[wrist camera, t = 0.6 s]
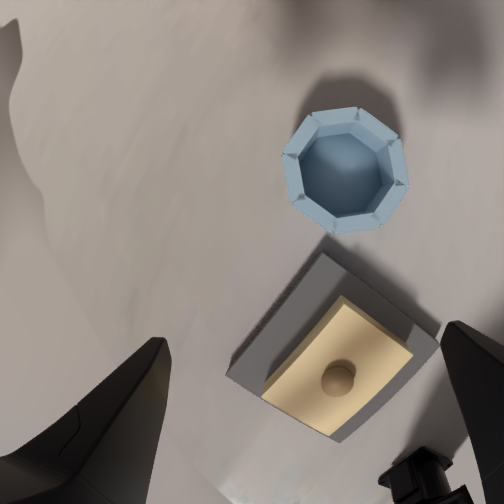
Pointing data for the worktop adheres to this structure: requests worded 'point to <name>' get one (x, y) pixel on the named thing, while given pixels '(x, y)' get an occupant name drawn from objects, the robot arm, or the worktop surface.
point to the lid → (336, 368)
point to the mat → (305, 319)
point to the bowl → (345, 170)
